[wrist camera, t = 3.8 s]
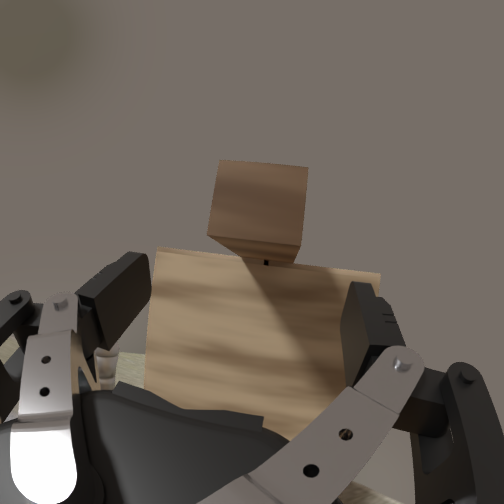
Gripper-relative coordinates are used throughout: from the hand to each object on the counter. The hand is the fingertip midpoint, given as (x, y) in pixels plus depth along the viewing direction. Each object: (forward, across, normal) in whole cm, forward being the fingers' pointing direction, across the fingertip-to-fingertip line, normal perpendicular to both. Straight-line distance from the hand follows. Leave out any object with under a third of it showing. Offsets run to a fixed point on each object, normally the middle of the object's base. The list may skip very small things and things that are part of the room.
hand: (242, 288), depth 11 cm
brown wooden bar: (+14, 0, +6) cm, 15 cm away
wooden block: (+2, 0, +36) cm, 36 cm away
